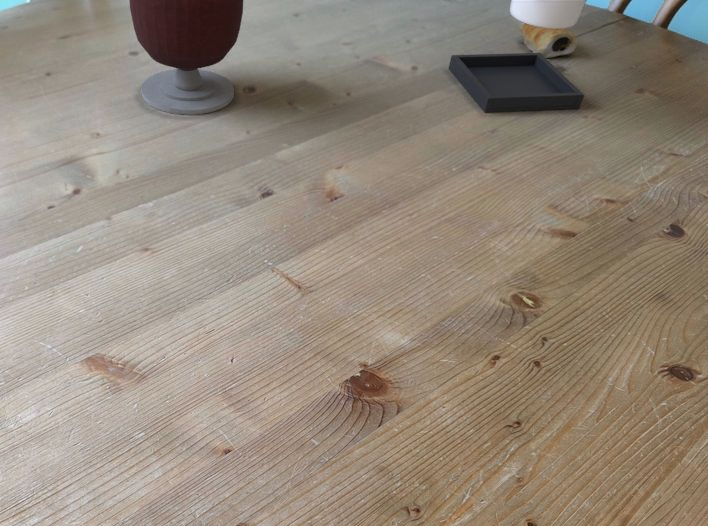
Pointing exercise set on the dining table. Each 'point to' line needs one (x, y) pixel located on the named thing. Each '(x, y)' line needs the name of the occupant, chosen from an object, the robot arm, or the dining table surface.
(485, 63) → the shallow tray
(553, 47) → the pastry
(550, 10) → the white cup
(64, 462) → the dining table surface
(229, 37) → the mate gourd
